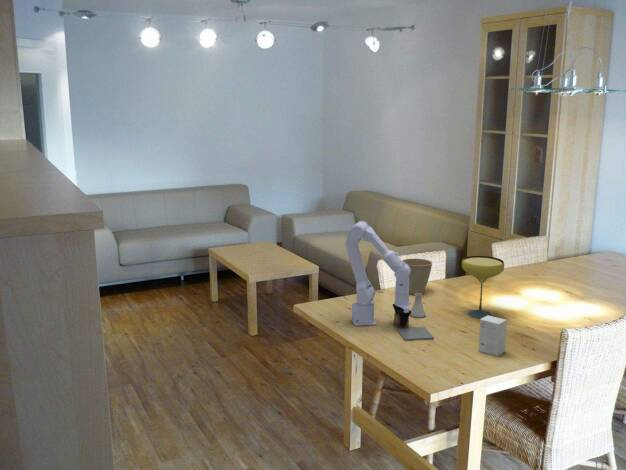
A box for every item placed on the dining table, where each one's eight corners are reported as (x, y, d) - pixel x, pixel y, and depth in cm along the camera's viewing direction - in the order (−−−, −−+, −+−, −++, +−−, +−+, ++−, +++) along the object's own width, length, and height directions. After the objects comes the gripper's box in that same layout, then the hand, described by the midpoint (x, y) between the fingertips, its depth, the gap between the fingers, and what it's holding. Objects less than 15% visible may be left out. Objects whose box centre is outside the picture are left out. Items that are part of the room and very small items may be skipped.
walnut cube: (397, 329, 263) (397, 317, 262) (393, 324, 268) (394, 313, 267) (408, 328, 264) (408, 317, 262) (405, 324, 268) (405, 313, 267)
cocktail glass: (500, 309, 286) (504, 257, 280) (501, 323, 269) (504, 267, 263) (460, 306, 290) (462, 254, 285) (458, 319, 273) (461, 264, 268)
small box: (505, 351, 239) (507, 319, 236) (497, 356, 234) (499, 324, 231) (485, 346, 244) (487, 314, 241) (477, 351, 240) (479, 318, 237)
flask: (413, 319, 274) (414, 297, 272) (406, 313, 281) (407, 292, 279) (428, 317, 276) (429, 296, 274) (421, 312, 283) (422, 291, 281)
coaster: (404, 340, 250) (404, 339, 250) (396, 330, 261) (396, 328, 261) (433, 339, 251) (433, 337, 251) (424, 328, 263) (424, 326, 263)
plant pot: (433, 297, 303) (434, 265, 300) (402, 297, 304) (403, 265, 300) (428, 288, 318) (429, 258, 314) (399, 288, 318) (400, 258, 315)
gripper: (416, 297, 256) (415, 328, 259) (406, 287, 270) (405, 316, 273) (399, 298, 255) (398, 329, 258) (390, 287, 269) (389, 317, 272)
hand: (401, 323), depth 265 cm, fingers open, 6 cm apart
